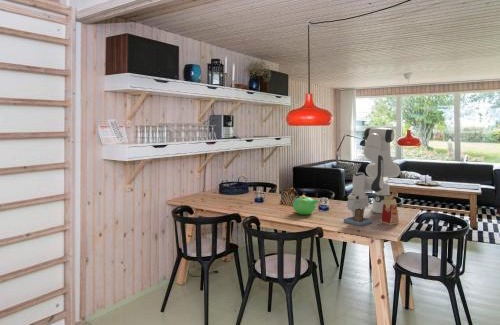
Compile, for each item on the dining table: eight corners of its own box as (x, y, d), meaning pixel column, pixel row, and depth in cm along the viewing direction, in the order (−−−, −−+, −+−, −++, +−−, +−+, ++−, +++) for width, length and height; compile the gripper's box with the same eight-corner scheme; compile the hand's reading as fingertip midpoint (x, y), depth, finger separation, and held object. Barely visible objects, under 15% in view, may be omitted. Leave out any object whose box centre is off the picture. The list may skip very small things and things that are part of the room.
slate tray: (355, 219, 268) (355, 215, 268) (372, 222, 257) (372, 219, 257) (343, 222, 260) (343, 218, 259) (360, 226, 248) (360, 222, 248)
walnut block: (357, 220, 262) (357, 208, 261) (363, 221, 258) (363, 209, 257) (353, 221, 259) (353, 209, 258) (359, 222, 255) (359, 210, 254)
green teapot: (308, 211, 295) (308, 193, 294) (320, 215, 280) (320, 196, 278) (289, 213, 287) (289, 195, 286) (300, 217, 272) (301, 198, 271)
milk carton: (398, 223, 256) (399, 195, 254) (390, 225, 251) (391, 196, 249) (387, 220, 264) (388, 193, 262) (379, 222, 259) (380, 194, 257)
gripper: (363, 193, 265) (363, 211, 266) (346, 196, 253) (345, 215, 254) (371, 194, 260) (370, 213, 261) (353, 197, 248) (353, 217, 249)
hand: (358, 214), depth 258 cm, fingers open, 8 cm apart
